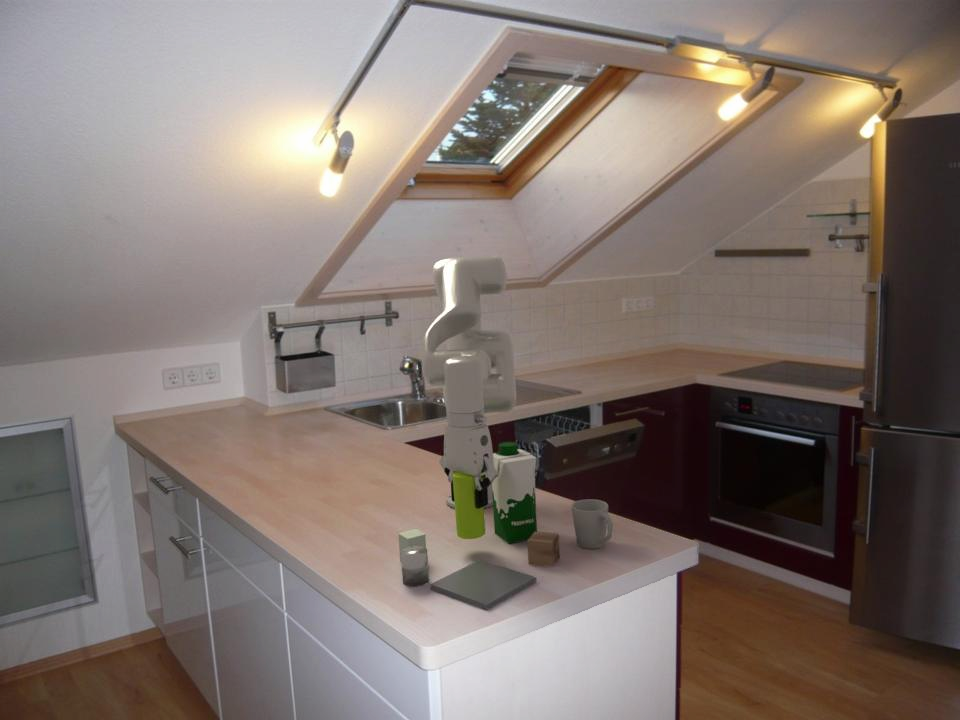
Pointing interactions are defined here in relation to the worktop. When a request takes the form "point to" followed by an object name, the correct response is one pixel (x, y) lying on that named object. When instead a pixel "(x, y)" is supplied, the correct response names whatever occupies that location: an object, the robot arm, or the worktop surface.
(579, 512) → the cup
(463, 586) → the plate
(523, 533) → the milk carton
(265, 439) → the worktop surface
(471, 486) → the lime spray bottle
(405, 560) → the metal tin
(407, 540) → the pale green box
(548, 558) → the walnut block
